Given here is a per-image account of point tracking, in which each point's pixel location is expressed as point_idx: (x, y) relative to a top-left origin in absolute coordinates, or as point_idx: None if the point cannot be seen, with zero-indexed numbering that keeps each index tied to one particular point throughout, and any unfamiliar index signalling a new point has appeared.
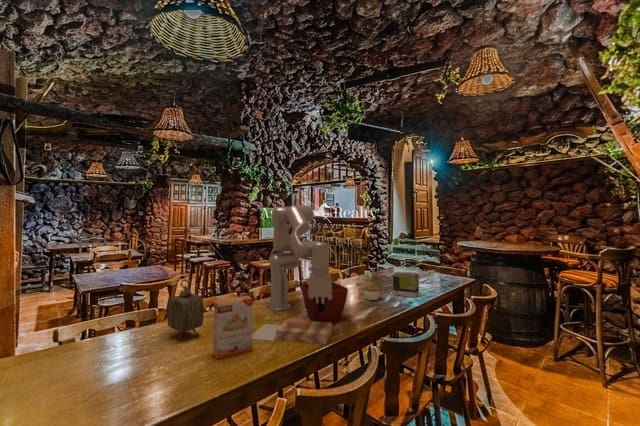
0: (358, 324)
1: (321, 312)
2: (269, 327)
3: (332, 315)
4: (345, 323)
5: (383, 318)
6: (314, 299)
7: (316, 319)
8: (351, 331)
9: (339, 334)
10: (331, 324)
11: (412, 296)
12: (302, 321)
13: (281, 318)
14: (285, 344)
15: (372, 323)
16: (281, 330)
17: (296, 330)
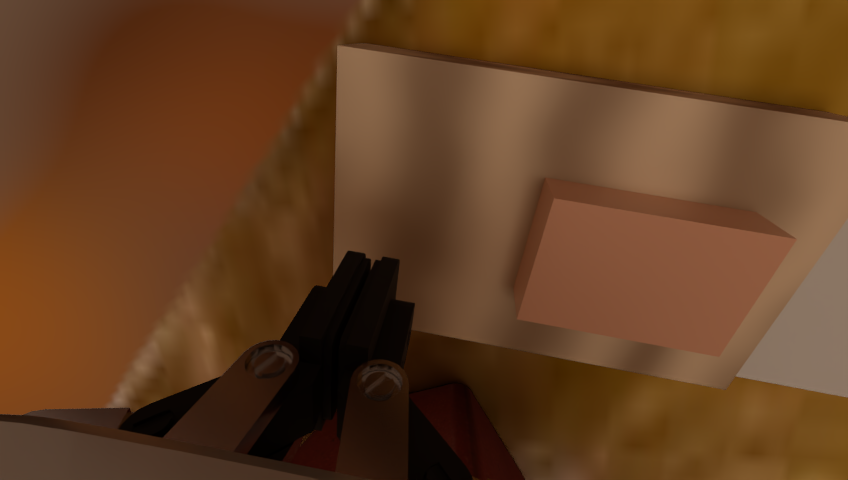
0: (214, 368)
1: (352, 251)
2: (845, 341)
3: None
4: None
5: None
6: (440, 458)
7: (464, 402)
8: (229, 276)
9: (295, 230)
10: None
11: None
12: (599, 251)
13: (711, 473)
14: (746, 2)
15: (144, 376)
16: (840, 128)
17: (656, 137)
